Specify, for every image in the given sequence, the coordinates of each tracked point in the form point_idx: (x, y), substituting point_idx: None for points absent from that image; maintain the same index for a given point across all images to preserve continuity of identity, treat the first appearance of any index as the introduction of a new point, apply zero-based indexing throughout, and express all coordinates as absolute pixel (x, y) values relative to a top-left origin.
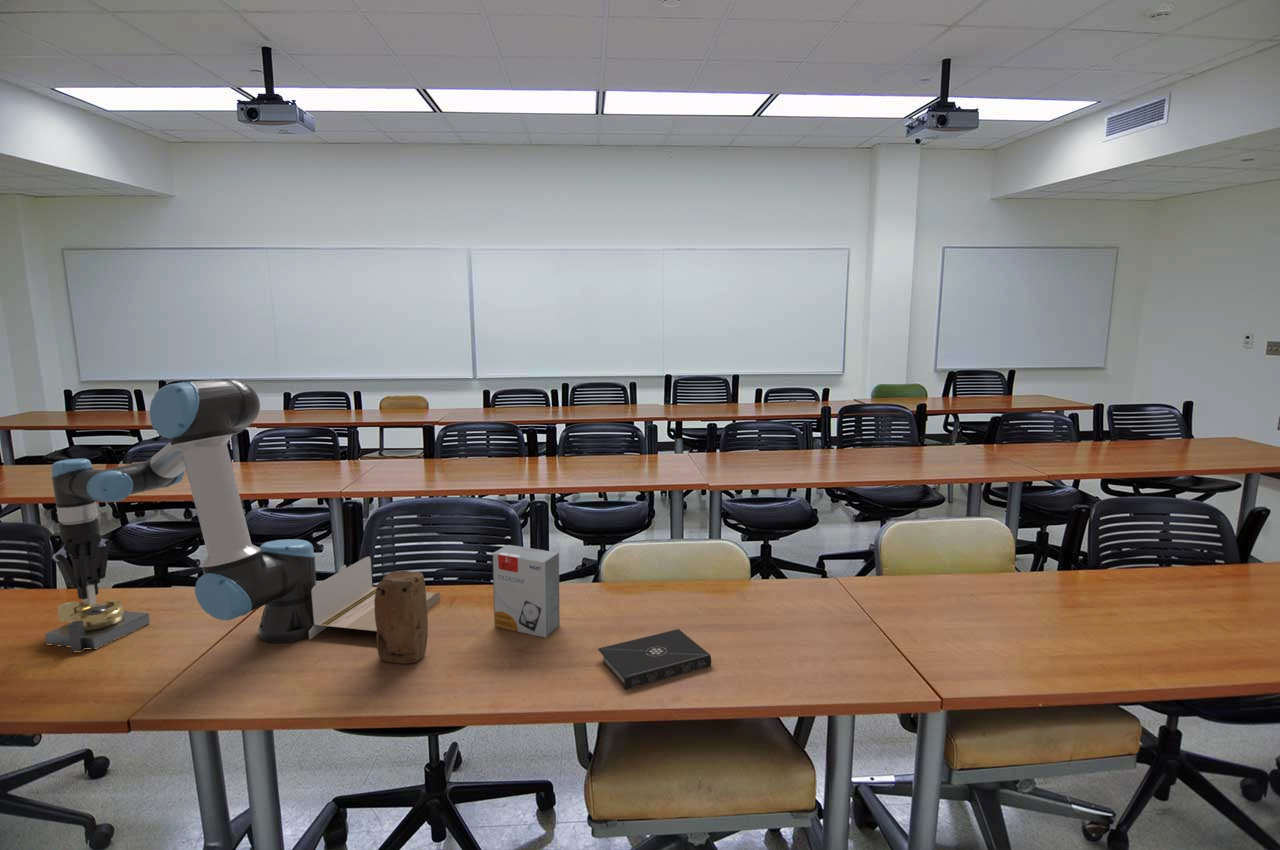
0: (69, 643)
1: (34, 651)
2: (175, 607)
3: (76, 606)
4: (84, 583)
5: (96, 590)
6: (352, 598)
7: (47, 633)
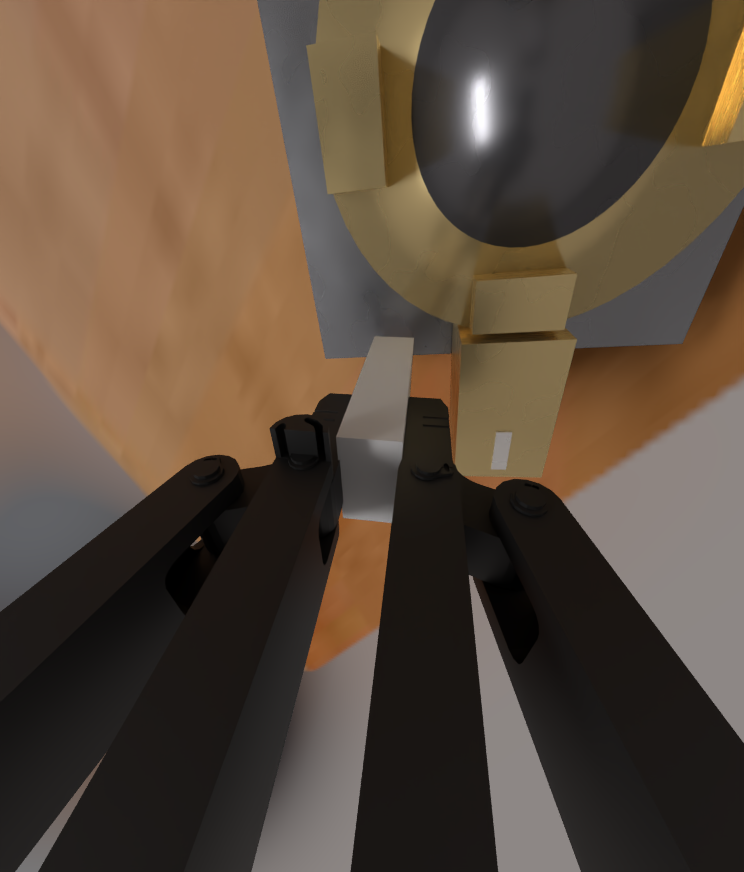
0: None
1: (719, 308)
2: (37, 48)
3: (547, 342)
4: (428, 481)
5: (326, 412)
6: None
7: (681, 331)
